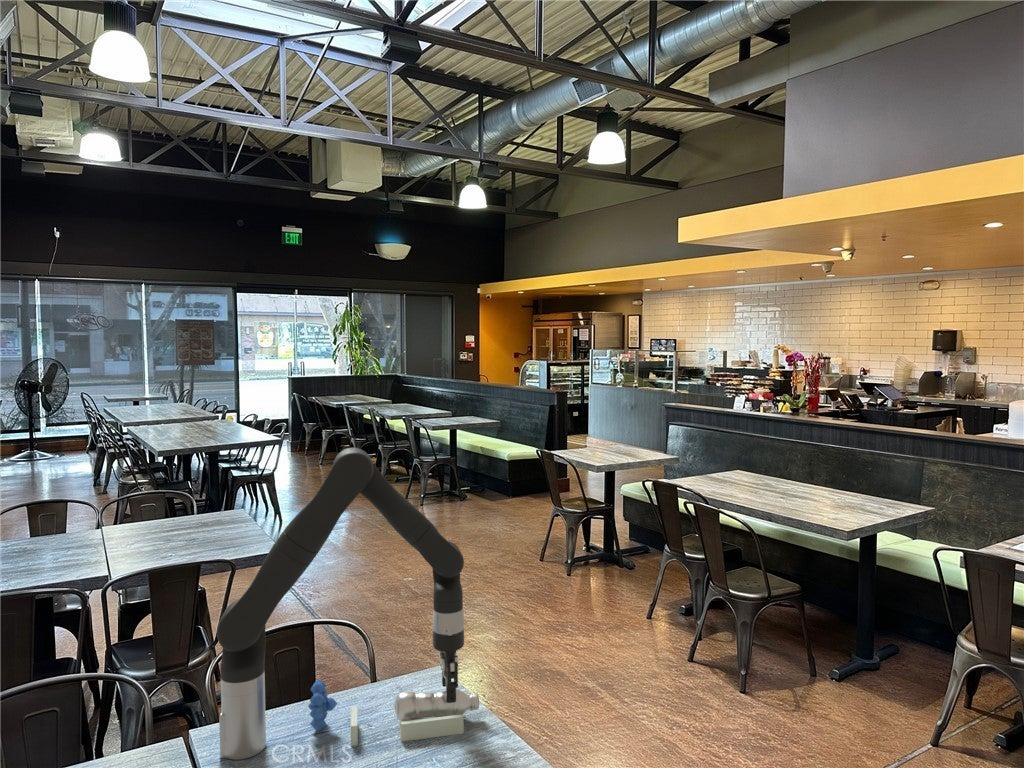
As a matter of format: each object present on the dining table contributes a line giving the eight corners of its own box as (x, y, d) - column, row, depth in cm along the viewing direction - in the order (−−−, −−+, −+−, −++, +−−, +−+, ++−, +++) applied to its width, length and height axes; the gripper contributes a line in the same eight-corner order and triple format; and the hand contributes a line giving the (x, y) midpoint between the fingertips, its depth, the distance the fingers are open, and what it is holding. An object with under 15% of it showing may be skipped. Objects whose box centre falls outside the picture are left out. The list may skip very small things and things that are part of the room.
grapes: (336, 741, 156) (335, 690, 156) (305, 744, 155) (304, 693, 155) (339, 715, 168) (338, 667, 167) (310, 718, 167) (309, 670, 166)
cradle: (401, 741, 156) (400, 724, 156) (398, 717, 167) (398, 701, 167) (463, 733, 159) (463, 716, 159) (457, 710, 170) (456, 694, 170)
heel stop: (350, 745, 155) (350, 726, 155) (351, 724, 163) (350, 706, 163) (357, 744, 155) (357, 725, 155) (357, 724, 164) (357, 705, 164)
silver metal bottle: (395, 686, 163) (478, 681, 167) (394, 701, 167) (475, 696, 170) (395, 712, 158) (480, 707, 161) (394, 727, 161) (477, 721, 165)
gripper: (429, 617, 169) (430, 681, 170) (436, 640, 155) (436, 710, 156) (459, 614, 171) (460, 678, 172) (468, 637, 157) (469, 706, 158)
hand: (448, 693), depth 164 cm, fingers open, 7 cm apart
